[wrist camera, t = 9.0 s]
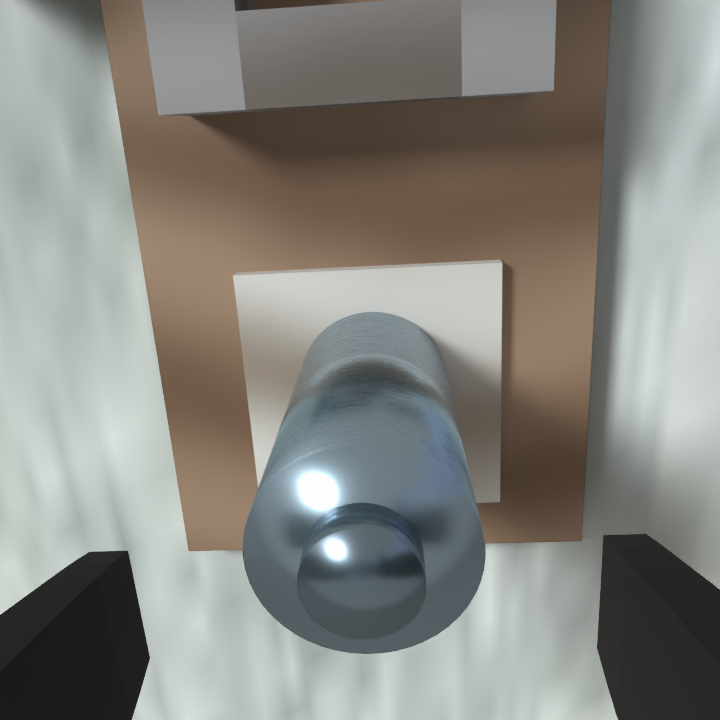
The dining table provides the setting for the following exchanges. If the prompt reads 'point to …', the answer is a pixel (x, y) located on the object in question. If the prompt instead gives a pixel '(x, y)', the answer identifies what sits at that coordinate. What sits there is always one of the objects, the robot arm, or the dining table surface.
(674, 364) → the dining table surface
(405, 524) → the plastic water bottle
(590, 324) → the housing plate
